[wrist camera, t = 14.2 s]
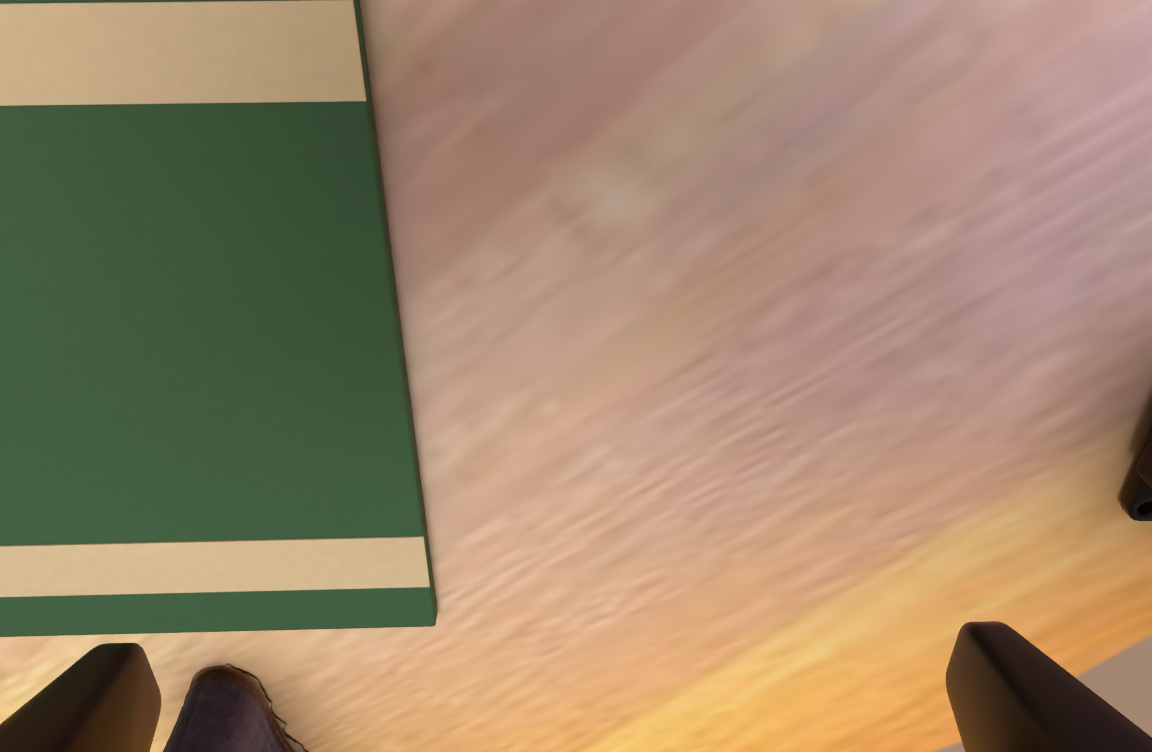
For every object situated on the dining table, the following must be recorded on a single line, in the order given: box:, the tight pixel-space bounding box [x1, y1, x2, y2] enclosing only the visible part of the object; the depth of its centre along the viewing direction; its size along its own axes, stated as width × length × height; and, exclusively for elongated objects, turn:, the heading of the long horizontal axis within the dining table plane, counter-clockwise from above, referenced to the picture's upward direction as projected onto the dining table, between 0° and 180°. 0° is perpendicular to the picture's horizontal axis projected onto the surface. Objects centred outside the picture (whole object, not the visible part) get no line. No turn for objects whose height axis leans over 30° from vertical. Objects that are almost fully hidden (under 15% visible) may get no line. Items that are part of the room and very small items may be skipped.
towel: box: [0, 0, 437, 637], centre depth 21 cm, size 14×20×1 cm
